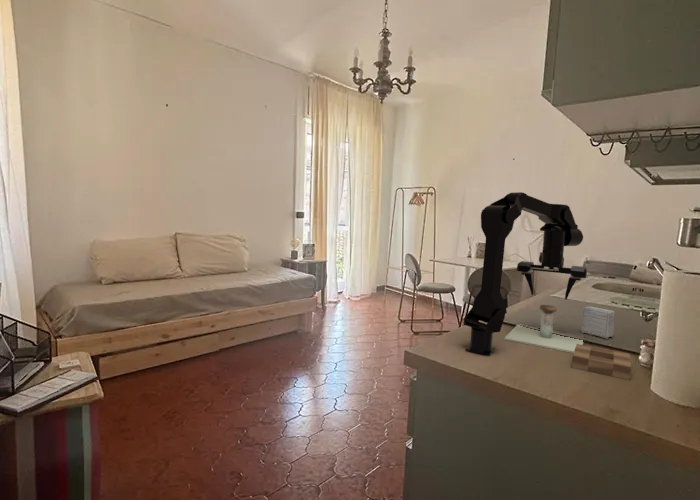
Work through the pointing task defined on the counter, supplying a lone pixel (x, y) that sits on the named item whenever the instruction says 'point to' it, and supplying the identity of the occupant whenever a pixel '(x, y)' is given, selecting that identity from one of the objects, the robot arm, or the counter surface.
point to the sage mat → (542, 339)
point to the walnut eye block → (602, 361)
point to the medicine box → (598, 321)
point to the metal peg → (547, 321)
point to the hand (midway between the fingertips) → (549, 297)
